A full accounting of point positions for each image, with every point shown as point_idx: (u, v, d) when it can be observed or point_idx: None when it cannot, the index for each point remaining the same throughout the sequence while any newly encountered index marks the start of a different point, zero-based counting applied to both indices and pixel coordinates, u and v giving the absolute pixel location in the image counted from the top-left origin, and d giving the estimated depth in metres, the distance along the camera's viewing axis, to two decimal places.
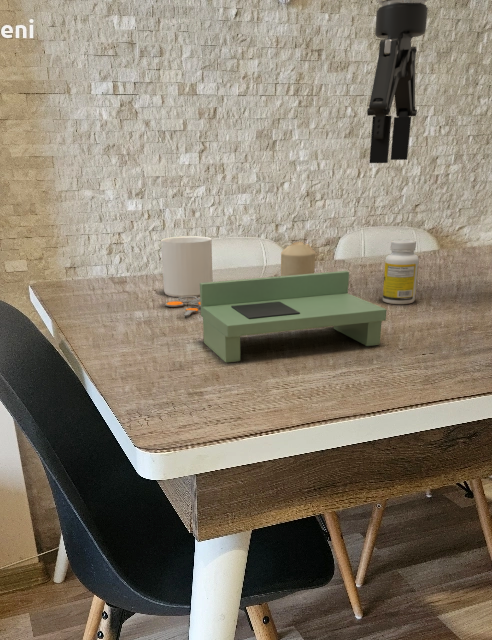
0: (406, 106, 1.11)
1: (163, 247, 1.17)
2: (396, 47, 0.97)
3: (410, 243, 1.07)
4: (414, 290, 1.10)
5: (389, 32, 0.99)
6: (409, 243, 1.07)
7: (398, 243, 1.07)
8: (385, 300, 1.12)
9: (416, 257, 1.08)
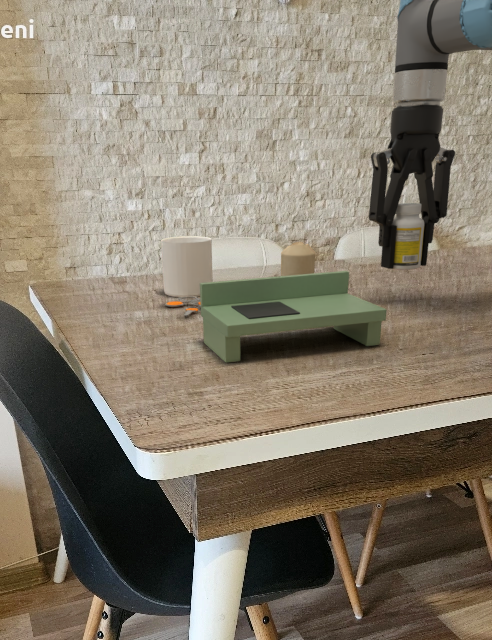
0: (426, 209, 1.06)
1: (163, 247, 1.17)
2: (382, 160, 1.00)
3: (415, 206, 1.04)
4: (420, 255, 1.08)
5: (391, 134, 1.01)
6: (414, 206, 1.04)
7: (403, 206, 1.04)
8: None
9: (421, 220, 1.05)
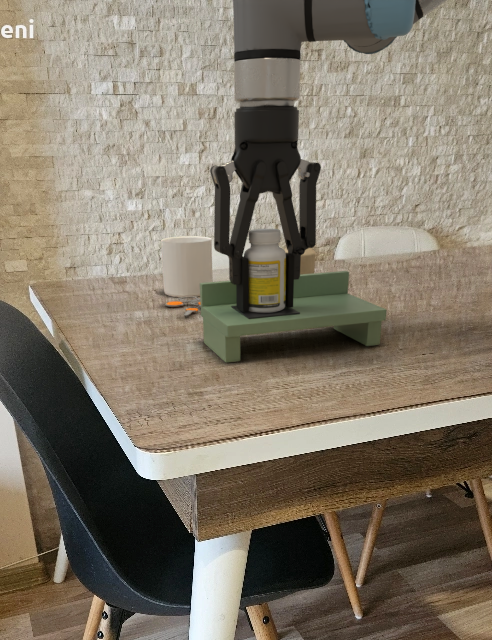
0: (289, 237, 0.84)
1: (163, 247, 1.17)
2: (221, 177, 0.78)
3: (270, 233, 0.82)
4: (281, 295, 0.85)
5: (235, 142, 0.78)
6: (269, 233, 0.82)
7: (255, 233, 0.82)
8: None
9: (280, 252, 0.83)
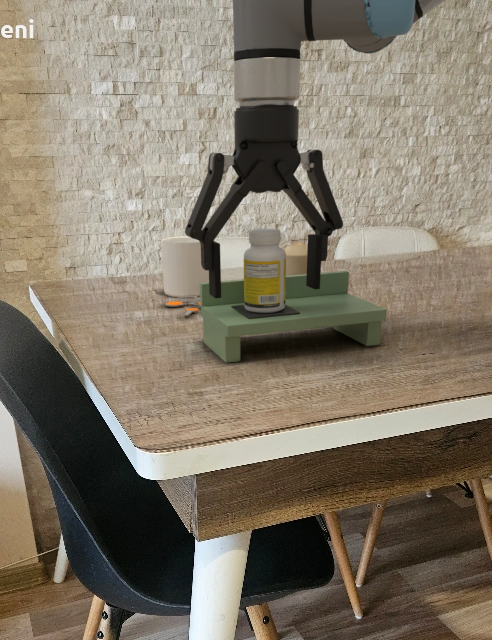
0: (313, 223, 0.84)
1: (163, 247, 1.17)
2: (218, 164, 0.77)
3: (270, 233, 0.82)
4: (281, 295, 0.85)
5: (235, 141, 0.78)
6: (269, 233, 0.82)
7: (255, 233, 0.82)
8: (246, 307, 0.87)
9: (280, 252, 0.83)
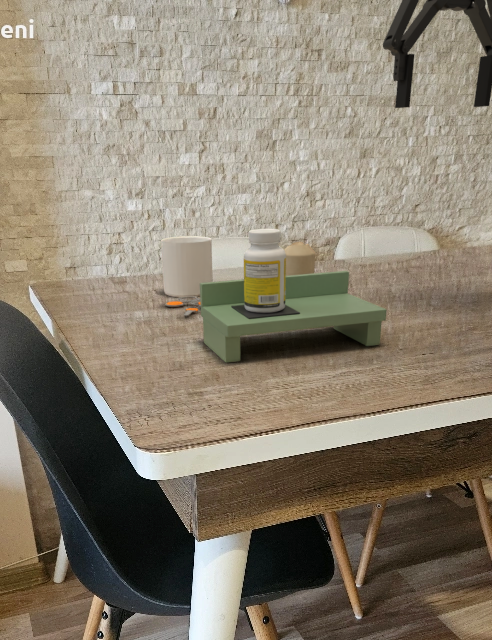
0: (489, 42, 0.96)
1: (163, 247, 1.17)
2: None
3: (270, 233, 0.82)
4: (281, 295, 0.85)
5: None
6: (269, 233, 0.82)
7: (255, 233, 0.82)
8: (246, 307, 0.87)
9: (280, 252, 0.83)
